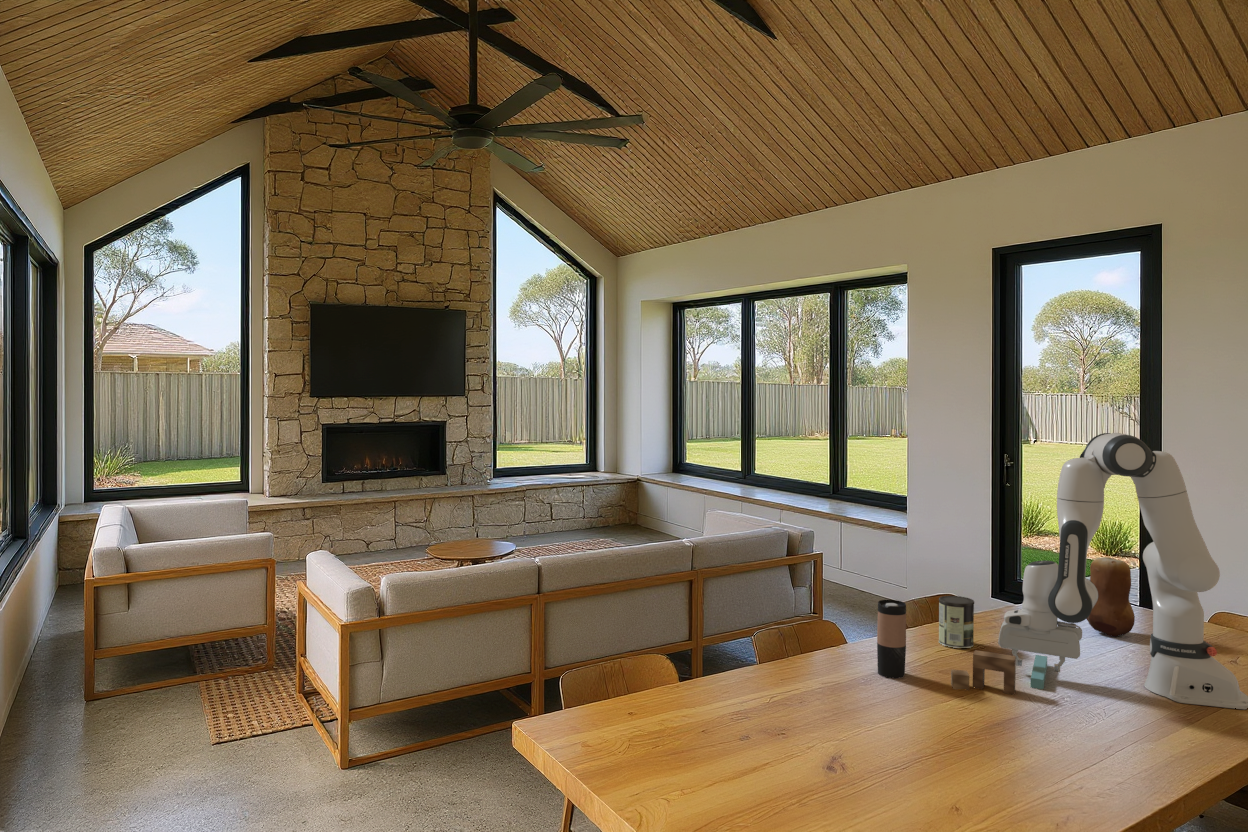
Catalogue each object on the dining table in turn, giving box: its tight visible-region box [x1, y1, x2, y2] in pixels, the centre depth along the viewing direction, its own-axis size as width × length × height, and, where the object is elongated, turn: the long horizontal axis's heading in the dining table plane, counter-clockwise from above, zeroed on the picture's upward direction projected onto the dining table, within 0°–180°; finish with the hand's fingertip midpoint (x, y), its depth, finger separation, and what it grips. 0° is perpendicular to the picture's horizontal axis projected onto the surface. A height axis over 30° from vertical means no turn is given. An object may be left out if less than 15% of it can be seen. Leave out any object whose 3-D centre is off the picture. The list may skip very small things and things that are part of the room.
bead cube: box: [950, 669, 970, 691], centre depth 216 cm, size 4×4×4 cm
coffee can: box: [938, 595, 975, 649], centre depth 252 cm, size 10×10×14 cm
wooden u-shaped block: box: [972, 649, 1017, 695], centre depth 214 cm, size 10×4×9 cm, turn 60°
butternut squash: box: [1086, 556, 1136, 638], centre depth 263 cm, size 14×13×25 cm
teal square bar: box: [1030, 654, 1048, 690], centre depth 224 cm, size 3×22×3 cm, turn 150°
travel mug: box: [876, 599, 907, 679], centre depth 225 cm, size 8×8×20 cm
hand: (1037, 668), depth 224 cm, fingers open, 8 cm apart
